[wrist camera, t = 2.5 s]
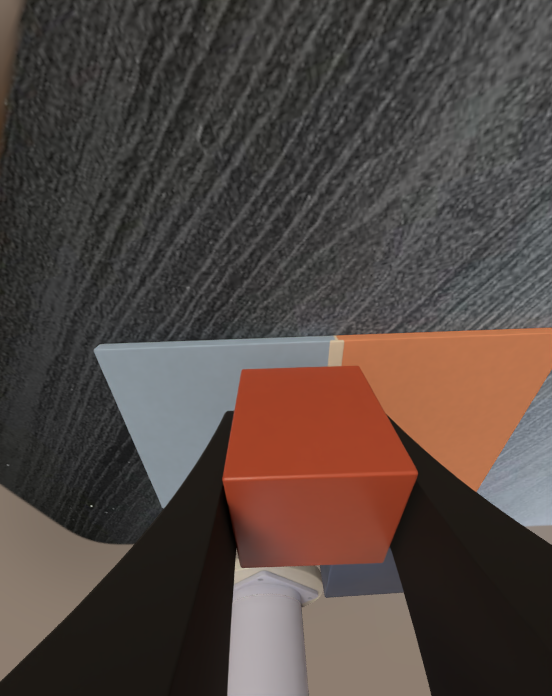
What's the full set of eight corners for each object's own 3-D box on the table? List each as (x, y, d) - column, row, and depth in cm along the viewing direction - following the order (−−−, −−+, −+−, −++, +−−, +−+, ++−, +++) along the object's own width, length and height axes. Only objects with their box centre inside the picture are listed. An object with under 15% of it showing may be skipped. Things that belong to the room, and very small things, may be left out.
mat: (165, 500, 16) (162, 509, 15) (99, 343, 10) (91, 350, 10) (469, 486, 16) (475, 495, 15) (562, 326, 10) (576, 332, 10)
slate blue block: (309, 498, 15) (324, 598, 11) (312, 448, 13) (333, 550, 9) (382, 493, 15) (423, 591, 11) (398, 443, 13) (454, 542, 9)
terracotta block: (250, 448, 12) (239, 569, 8) (241, 368, 9) (221, 480, 6) (346, 445, 12) (383, 563, 8) (359, 364, 9) (420, 473, 6)
